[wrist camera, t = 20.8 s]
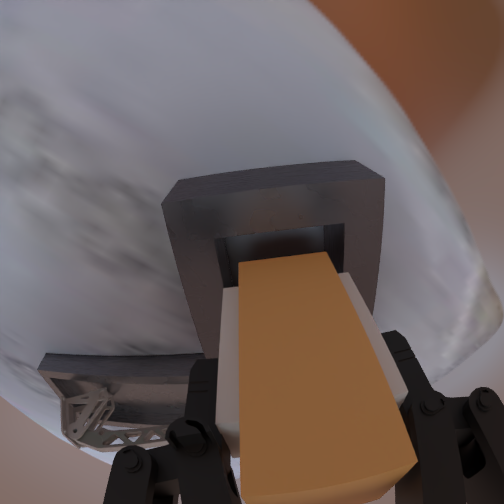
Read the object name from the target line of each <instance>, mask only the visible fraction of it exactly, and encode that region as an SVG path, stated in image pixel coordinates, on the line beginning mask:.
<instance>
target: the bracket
mask: <svg viewBox="0 0 504 504" xmlns="http://www.w3.org/2000/svg"><path fill="white" fill-rule="evenodd" d="M102 391H104V392H105V397H100V394H101V392H102ZM88 396H89V398H88V399H81V398H84V397H88ZM63 400H64V401H63ZM109 400H111V404H112V406H107V402H108V401H109ZM70 404H86V405H82V406H78V407H74V408H73V407H72V406H71V405H70ZM95 406H96V407H95ZM114 409H115V405H114V399H113V396H112V397H108V393H107V388H106V387H105V388H101V389H98V390H94V391H90V392H88V393H87V394H83V395H79V396H75V397H71V398H67V399H65V397H64V396H61V431H62V434H63V435H64V436H65V437H66V438H67V439H68V440H69V441H70V442H71V443H72V444H73V445H74V446H75V447H77V448H78V449H80V448H81V447H89V448H91V449H94V450H97V451H100V452H114V451H119V450H121V449H122V448H124V447H126V446H128V445H137V446H140V447H143V448H151V447H159V446H165V445H167V444H169V443H168V442H167V440H166V439H165V433H166V430H167V428H168V427H169V425H163V426H155V427H147V428H139V429H129V430H117V431H111V430H107V429H104V428H102V426H103V425H104V424H105V422H106V421H107V419H108V418H109V416H110V415H111V414H112V412H113V411H114ZM105 410H110V411H109V412H108V414H107V415H106V416H105V418H104V419H103V421H102V422H101V423H100V425H99V426H98V428H97V429H96V430H94V429H95V427H96V426H97V424H98V422H99V420H100V419H101V417H102V415H103V413H104V412H105ZM77 413H81V415H80V416H79V418H78V416H77ZM91 413H94V414H93V416H92V417H91V418H90V420H89V421H88V422H87V424H86V425H85V423H86V421H87V420H88V418H89V416H90V414H91ZM84 425H85V426H84ZM64 432H65V433H64ZM153 435H157V436H159V437H160V439H156V440H150V439H151V438H152V436H153ZM136 436H140V437H139V438H138V439H137V440H136V441H135V442H132V441H130V440H129V439H128V438H129V437H136ZM117 438H120V439H121V440H122V441H124V443H123V444H114V445H109V444H111V443H112V442H113V441H115V440H116V439H117Z"/></svg>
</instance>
